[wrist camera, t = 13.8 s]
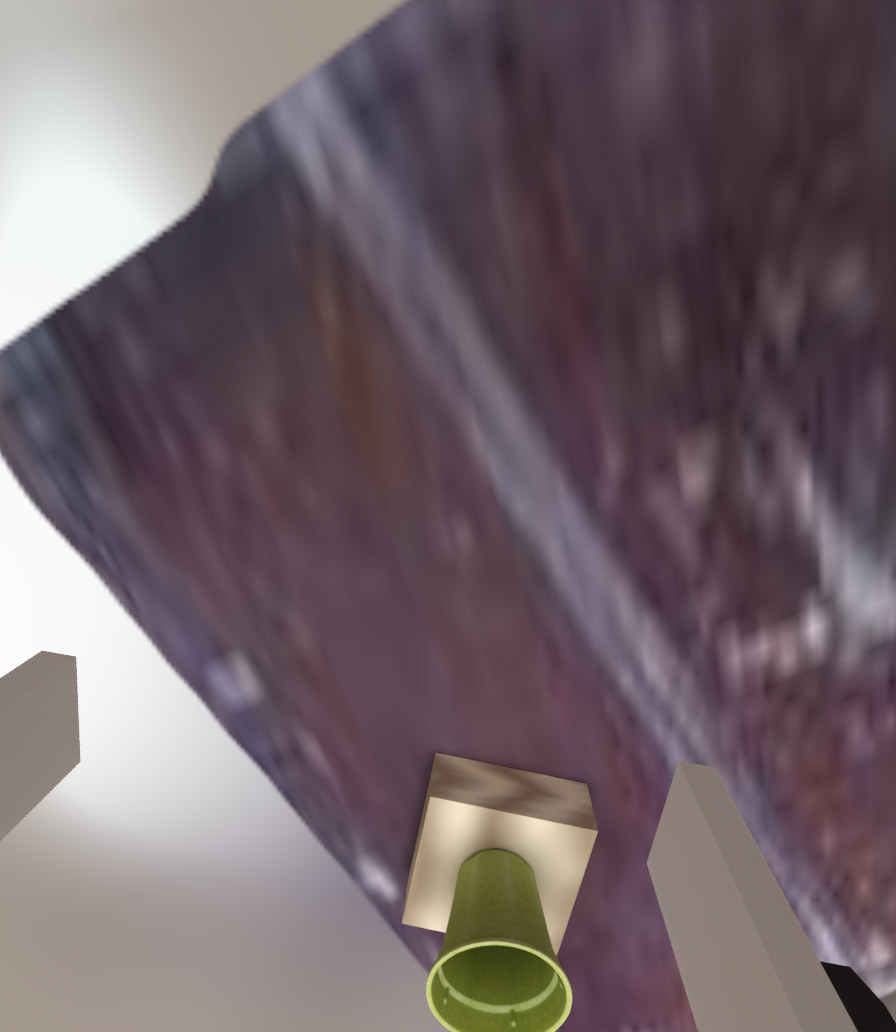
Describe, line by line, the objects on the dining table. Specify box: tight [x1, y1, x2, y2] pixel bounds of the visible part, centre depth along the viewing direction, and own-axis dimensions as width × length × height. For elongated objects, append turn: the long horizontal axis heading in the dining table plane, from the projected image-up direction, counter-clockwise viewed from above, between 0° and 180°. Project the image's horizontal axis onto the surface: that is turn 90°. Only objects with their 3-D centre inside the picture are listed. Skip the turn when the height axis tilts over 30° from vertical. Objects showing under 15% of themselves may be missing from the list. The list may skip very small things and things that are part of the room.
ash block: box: [402, 753, 598, 956], centre depth 48 cm, size 13×13×5 cm
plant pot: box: [426, 850, 572, 1032], centre depth 41 cm, size 9×9×9 cm
